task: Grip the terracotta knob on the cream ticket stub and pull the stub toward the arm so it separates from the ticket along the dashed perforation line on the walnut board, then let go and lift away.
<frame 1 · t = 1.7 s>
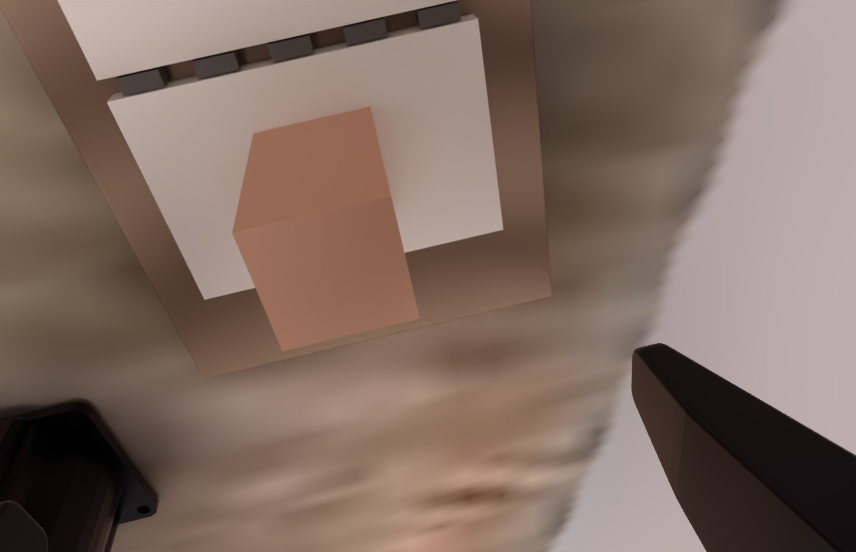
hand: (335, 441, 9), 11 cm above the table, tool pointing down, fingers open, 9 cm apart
stub: (329, 212, 14), point 4 cm above the table, slide at 0.0 cm
ticket board: (301, 56, 17), on the table
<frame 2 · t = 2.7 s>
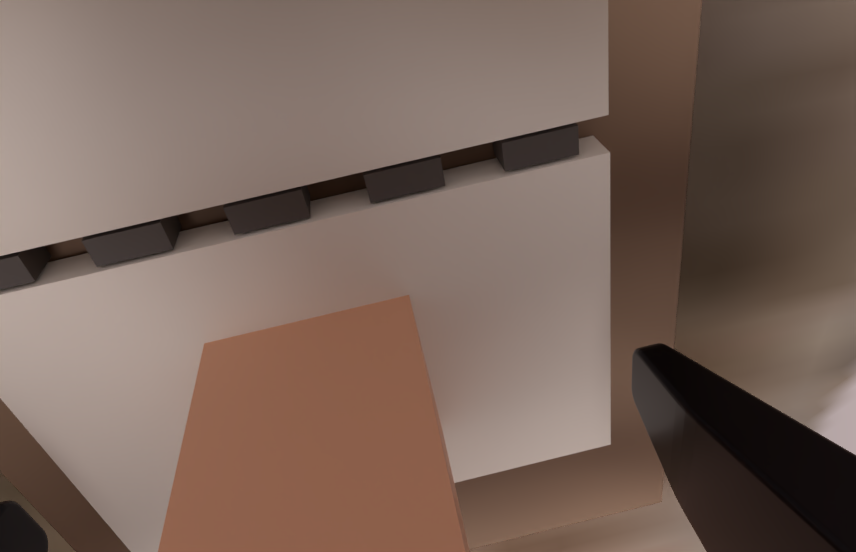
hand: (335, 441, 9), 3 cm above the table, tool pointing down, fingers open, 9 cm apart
stub: (339, 513, 8), point 4 cm above the table, slide at 0.0 cm
ticket board: (290, 189, 10), on the table
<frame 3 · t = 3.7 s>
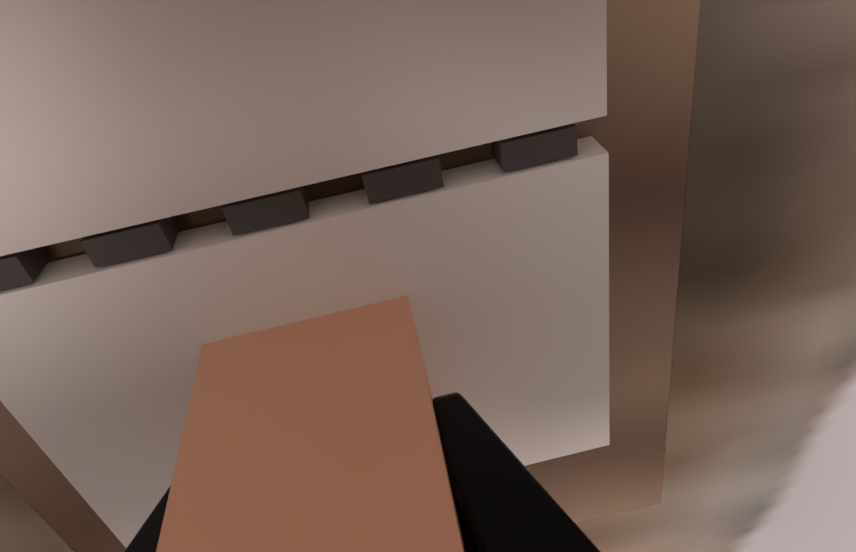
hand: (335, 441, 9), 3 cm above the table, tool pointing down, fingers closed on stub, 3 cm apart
stub: (337, 513, 8), point 4 cm above the table, slide at 0.0 cm, touching gripper
ticket board: (289, 189, 10), on the table
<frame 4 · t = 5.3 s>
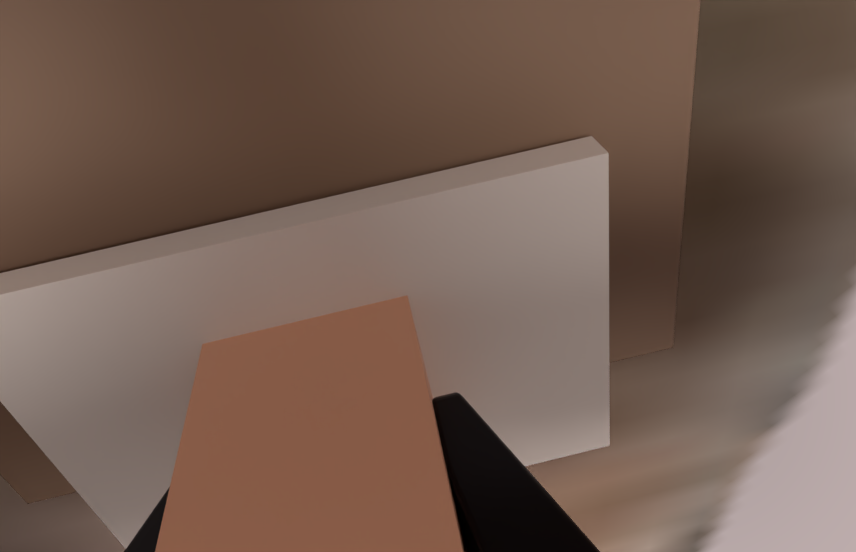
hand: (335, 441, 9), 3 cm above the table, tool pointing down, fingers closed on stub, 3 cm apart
stub: (337, 514, 8), point 4 cm above the table, slide at 4.9 cm, touching gripper
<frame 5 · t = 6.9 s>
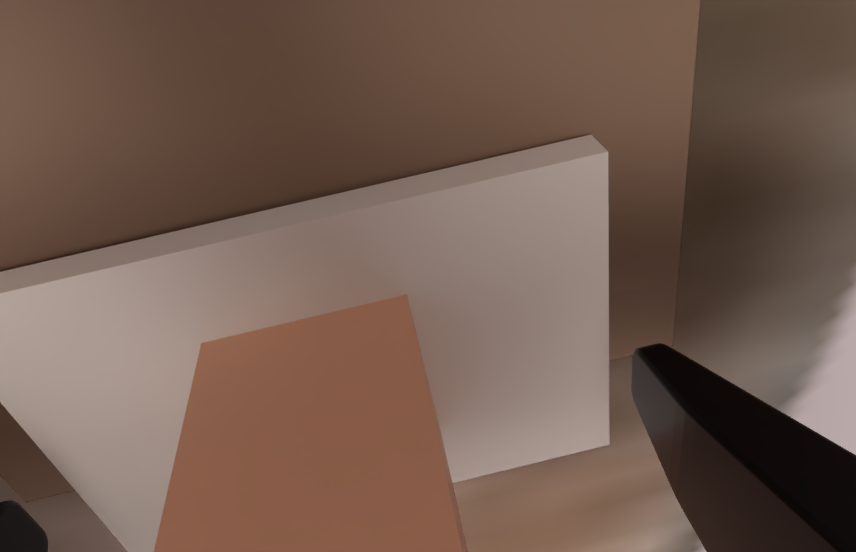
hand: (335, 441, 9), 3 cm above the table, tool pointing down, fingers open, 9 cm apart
stub: (336, 513, 8), point 4 cm above the table, slide at 4.9 cm
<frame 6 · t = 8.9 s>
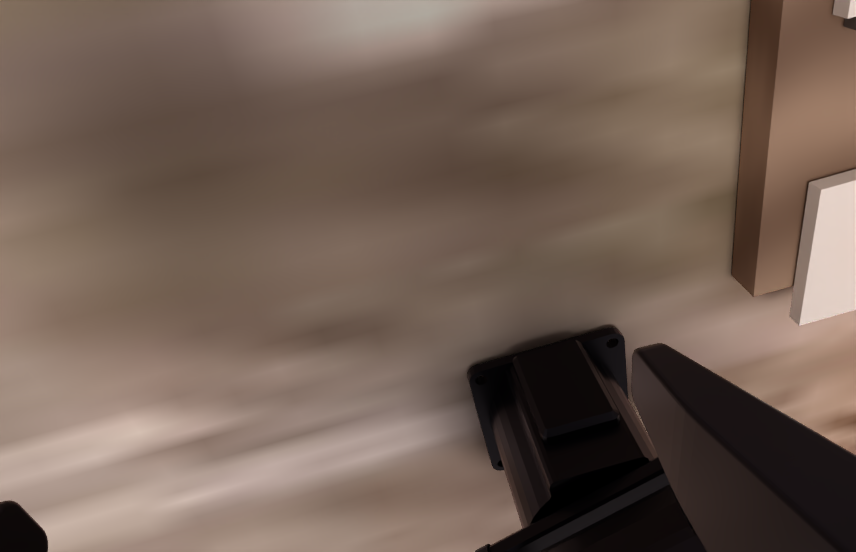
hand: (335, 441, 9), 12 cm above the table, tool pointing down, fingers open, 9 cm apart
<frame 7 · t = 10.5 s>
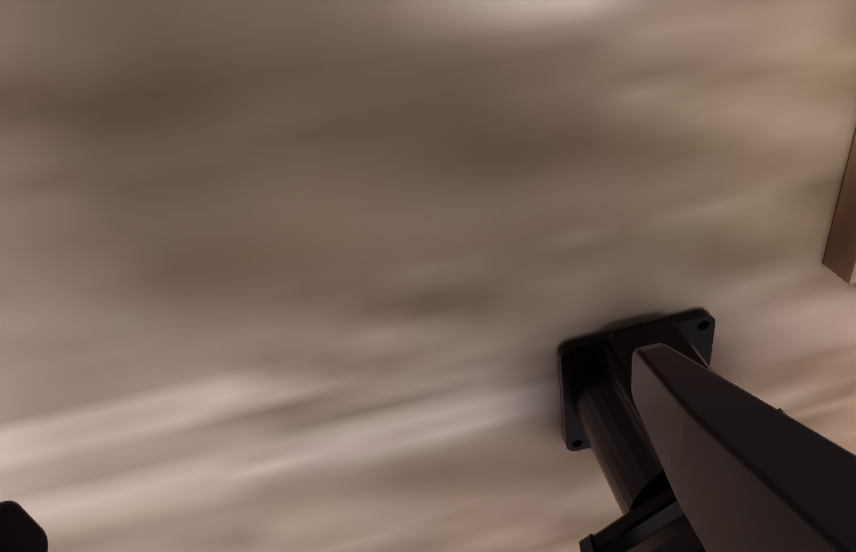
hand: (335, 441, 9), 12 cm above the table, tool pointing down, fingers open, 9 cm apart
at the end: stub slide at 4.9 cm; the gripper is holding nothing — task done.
